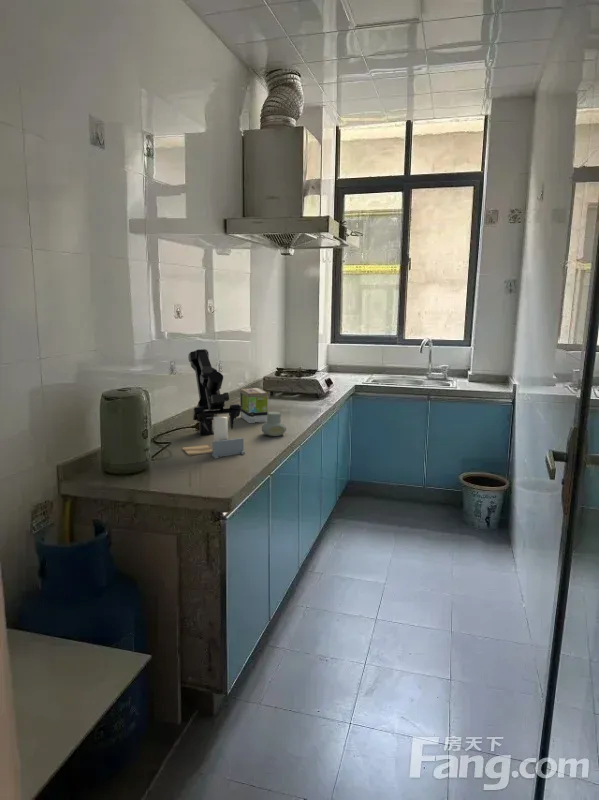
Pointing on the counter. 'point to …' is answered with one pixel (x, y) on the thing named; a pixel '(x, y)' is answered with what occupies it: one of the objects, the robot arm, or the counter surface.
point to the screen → (228, 447)
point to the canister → (220, 427)
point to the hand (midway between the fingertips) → (220, 429)
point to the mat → (197, 450)
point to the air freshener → (273, 425)
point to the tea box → (254, 405)
